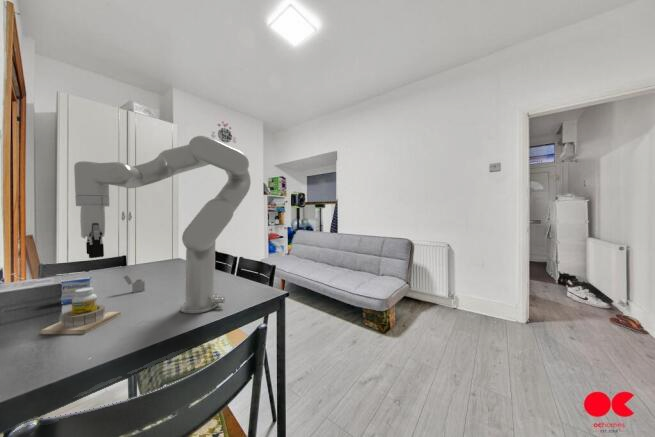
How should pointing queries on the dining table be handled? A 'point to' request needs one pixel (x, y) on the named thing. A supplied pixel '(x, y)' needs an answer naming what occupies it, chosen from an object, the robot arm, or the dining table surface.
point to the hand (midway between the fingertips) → (95, 255)
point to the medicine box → (73, 287)
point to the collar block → (81, 322)
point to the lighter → (136, 284)
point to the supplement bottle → (84, 301)
